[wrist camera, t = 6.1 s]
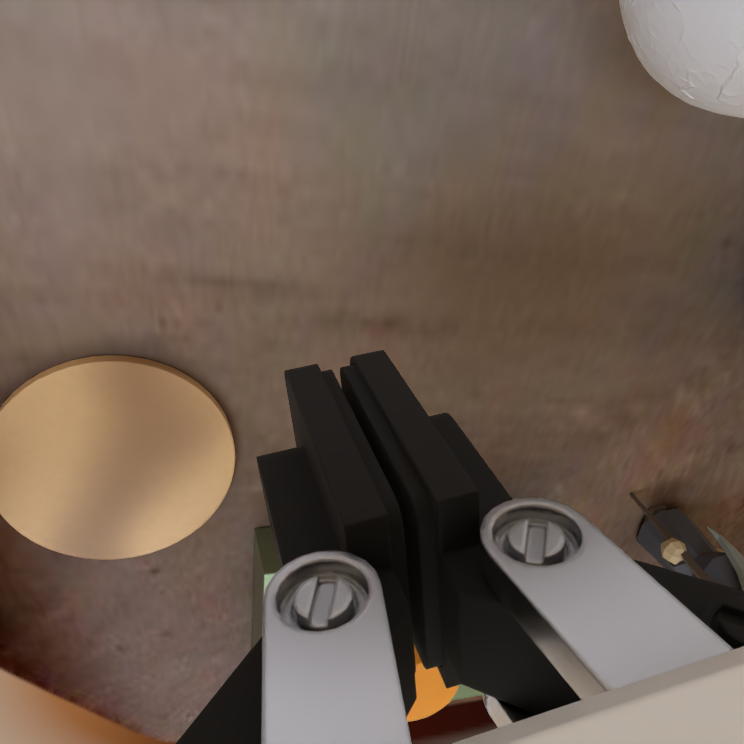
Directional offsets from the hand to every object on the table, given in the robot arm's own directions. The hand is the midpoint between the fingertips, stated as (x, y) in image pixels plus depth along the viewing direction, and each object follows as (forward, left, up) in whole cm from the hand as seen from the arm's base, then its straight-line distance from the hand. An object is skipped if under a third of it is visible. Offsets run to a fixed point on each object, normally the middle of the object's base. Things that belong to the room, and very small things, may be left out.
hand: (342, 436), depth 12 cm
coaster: (-5, -11, -17) cm, 21 cm away
